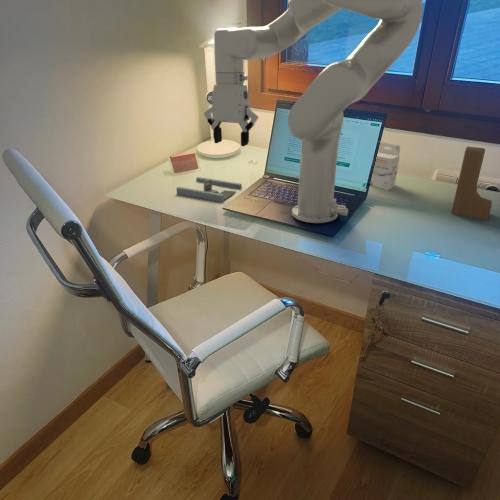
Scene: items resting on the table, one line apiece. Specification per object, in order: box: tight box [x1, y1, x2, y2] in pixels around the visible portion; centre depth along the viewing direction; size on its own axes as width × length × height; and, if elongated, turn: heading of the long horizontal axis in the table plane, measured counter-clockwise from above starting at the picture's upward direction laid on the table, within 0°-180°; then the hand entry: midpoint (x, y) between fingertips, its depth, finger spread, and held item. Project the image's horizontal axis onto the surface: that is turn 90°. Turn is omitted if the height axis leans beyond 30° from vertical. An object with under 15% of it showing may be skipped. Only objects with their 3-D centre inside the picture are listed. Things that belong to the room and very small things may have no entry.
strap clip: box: [203, 178, 220, 194], centre depth 137 cm, size 8×3×4 cm, turn 42°
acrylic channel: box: [176, 176, 242, 203], centre depth 137 cm, size 16×12×2 cm
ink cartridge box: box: [369, 141, 401, 191], centre depth 135 cm, size 9×5×15 cm, turn 47°
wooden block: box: [450, 146, 493, 221], centre depth 116 cm, size 9×4×18 cm, turn 62°
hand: (231, 143), depth 127 cm, fingers open, 8 cm apart
